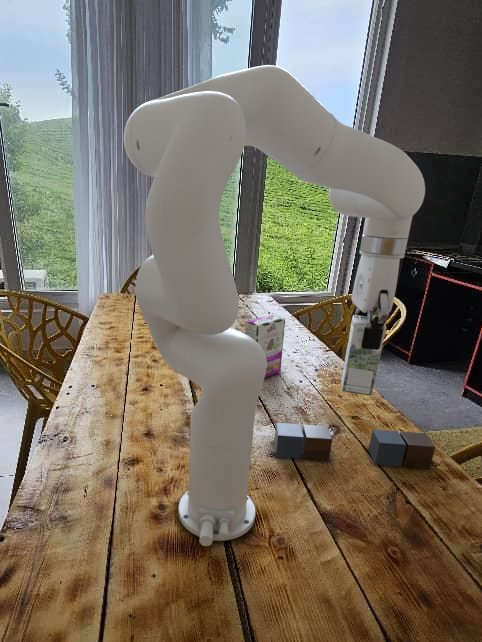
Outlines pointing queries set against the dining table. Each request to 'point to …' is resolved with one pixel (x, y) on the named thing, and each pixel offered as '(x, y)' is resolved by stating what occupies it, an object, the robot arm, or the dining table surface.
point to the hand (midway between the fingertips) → (364, 341)
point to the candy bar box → (268, 339)
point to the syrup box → (360, 360)
